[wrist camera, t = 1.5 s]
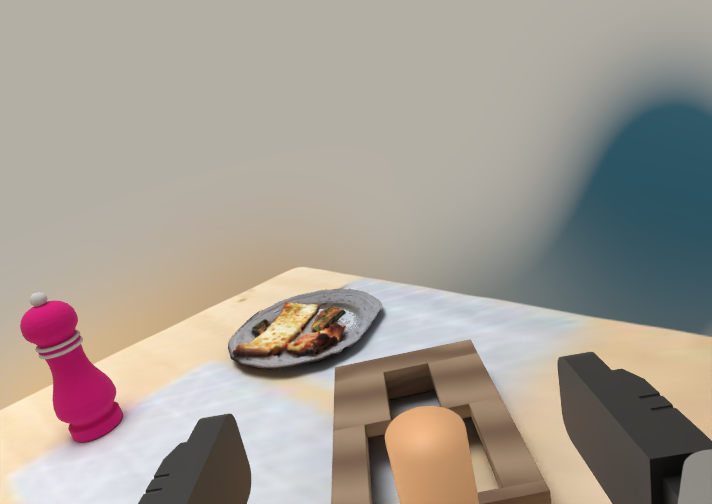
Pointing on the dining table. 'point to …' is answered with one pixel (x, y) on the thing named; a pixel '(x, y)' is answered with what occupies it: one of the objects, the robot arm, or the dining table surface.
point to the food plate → (303, 329)
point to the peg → (431, 457)
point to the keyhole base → (454, 391)
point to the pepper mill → (71, 370)
